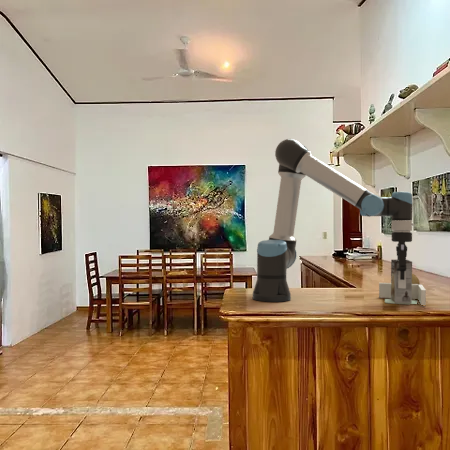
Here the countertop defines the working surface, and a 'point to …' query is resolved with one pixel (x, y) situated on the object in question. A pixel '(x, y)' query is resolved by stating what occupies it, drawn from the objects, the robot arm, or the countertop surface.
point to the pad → (398, 303)
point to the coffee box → (397, 293)
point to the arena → (417, 292)
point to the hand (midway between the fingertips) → (401, 286)
